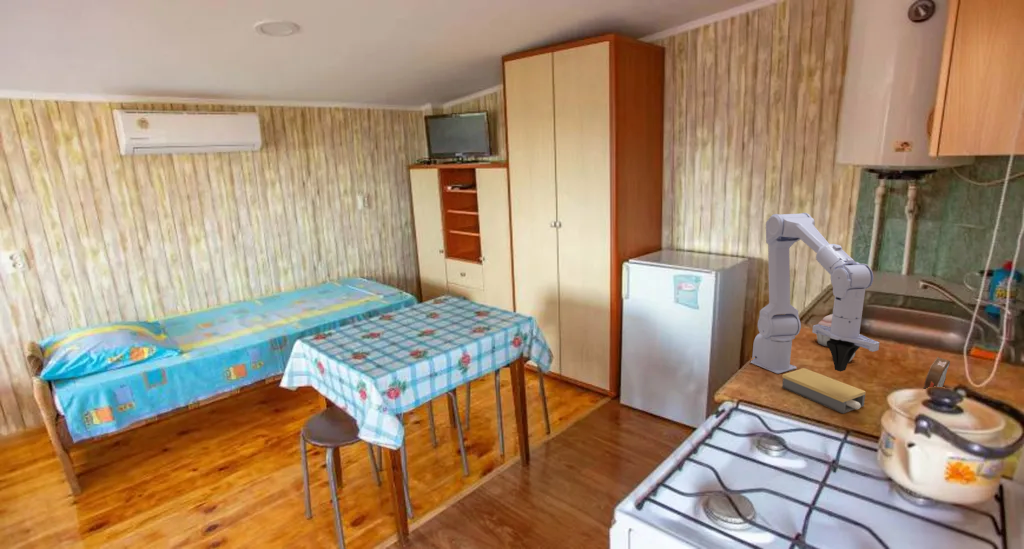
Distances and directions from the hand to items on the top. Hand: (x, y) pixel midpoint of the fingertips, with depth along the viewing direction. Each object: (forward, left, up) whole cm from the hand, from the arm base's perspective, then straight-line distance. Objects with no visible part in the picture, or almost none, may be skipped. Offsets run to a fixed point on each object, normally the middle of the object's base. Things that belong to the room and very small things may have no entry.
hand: (840, 369), depth 124 cm
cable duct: (-5, +2, -9) cm, 11 cm away
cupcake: (-27, +38, -10) cm, 47 cm away
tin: (+7, +28, -10) cm, 30 cm away
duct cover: (-5, +2, -6) cm, 8 cm away
